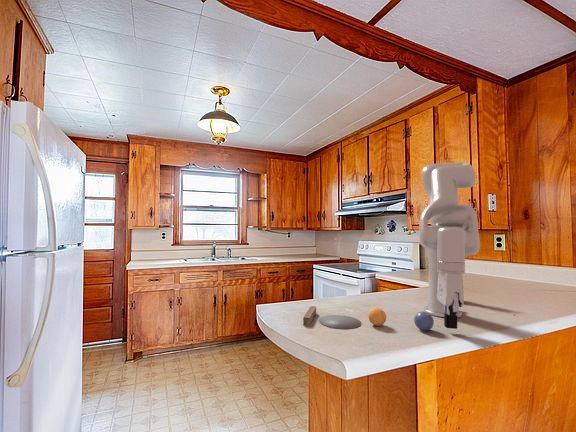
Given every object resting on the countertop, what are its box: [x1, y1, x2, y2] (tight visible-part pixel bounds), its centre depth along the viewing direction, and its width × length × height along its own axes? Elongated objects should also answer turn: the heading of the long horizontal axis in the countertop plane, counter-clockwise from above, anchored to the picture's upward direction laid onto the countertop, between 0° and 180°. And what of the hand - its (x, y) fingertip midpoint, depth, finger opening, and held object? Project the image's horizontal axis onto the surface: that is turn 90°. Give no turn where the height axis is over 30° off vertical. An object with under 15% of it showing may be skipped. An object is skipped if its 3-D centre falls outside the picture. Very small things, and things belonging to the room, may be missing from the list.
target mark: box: [318, 314, 362, 330], centre depth 99 cm, size 14×14×1 cm
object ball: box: [367, 307, 387, 327], centre depth 96 cm, size 6×6×6 cm
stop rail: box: [302, 305, 317, 327], centre depth 102 cm, size 2×14×2 cm, turn 166°
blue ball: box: [413, 311, 435, 331], centre depth 93 cm, size 6×6×6 cm
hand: (450, 327), depth 91 cm, fingers closed
